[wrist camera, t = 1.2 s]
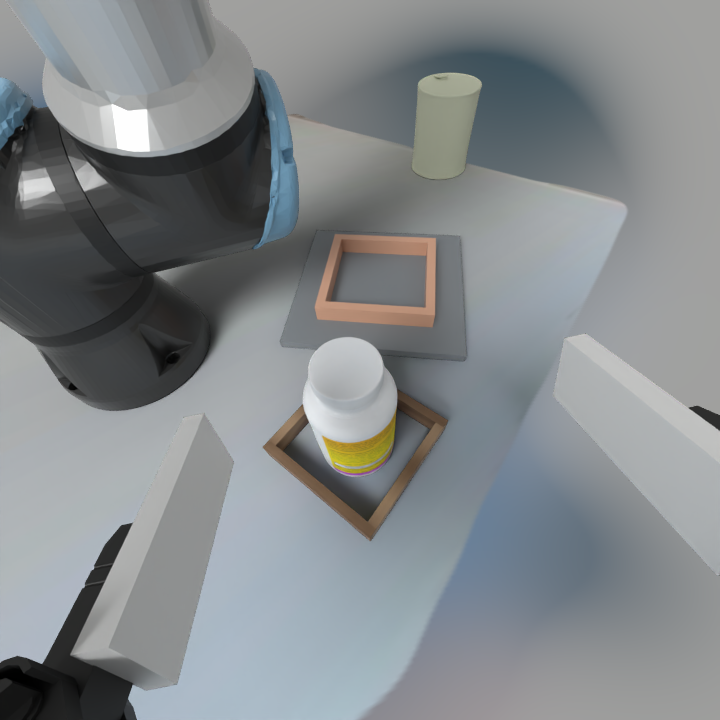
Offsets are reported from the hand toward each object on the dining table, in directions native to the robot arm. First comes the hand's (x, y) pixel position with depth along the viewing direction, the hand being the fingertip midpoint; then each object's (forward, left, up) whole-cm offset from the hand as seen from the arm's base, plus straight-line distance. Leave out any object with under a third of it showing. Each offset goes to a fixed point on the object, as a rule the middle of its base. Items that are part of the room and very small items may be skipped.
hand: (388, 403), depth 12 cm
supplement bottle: (-6, -1, -19) cm, 20 cm away
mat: (-24, +8, -18) cm, 31 cm away
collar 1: (-24, +8, -18) cm, 31 cm away
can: (-49, +27, -19) cm, 59 cm away
